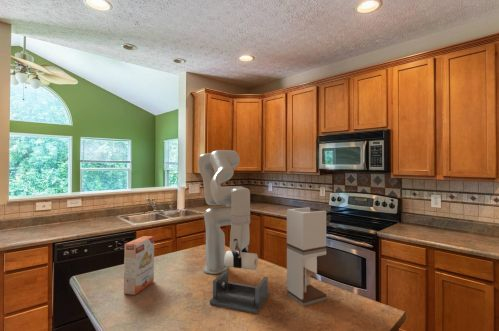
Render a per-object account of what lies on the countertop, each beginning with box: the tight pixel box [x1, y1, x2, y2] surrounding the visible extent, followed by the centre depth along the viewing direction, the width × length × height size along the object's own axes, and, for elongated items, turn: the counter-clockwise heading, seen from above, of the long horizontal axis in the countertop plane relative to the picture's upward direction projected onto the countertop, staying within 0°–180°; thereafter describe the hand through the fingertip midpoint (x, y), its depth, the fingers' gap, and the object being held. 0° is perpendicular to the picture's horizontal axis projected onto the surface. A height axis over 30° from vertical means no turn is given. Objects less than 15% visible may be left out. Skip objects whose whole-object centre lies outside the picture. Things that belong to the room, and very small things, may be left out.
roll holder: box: [209, 270, 271, 315], centre depth 108 cm, size 16×19×8 cm
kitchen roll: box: [224, 250, 259, 271], centre depth 108 cm, size 6×12×6 cm, turn 69°
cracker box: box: [123, 235, 155, 296], centre depth 119 cm, size 14×6×21 cm, turn 168°
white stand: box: [286, 206, 327, 307], centre depth 110 cm, size 11×11×35 cm
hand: (240, 264), depth 108 cm, fingers closed on kitchen roll, 6 cm apart
